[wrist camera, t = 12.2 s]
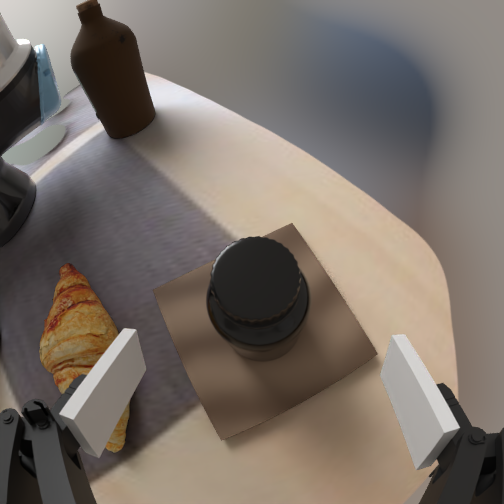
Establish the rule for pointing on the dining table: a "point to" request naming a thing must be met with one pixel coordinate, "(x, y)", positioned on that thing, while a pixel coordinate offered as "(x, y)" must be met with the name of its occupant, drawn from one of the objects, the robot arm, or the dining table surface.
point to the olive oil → (111, 72)
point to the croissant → (78, 338)
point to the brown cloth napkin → (270, 372)
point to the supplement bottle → (258, 298)
